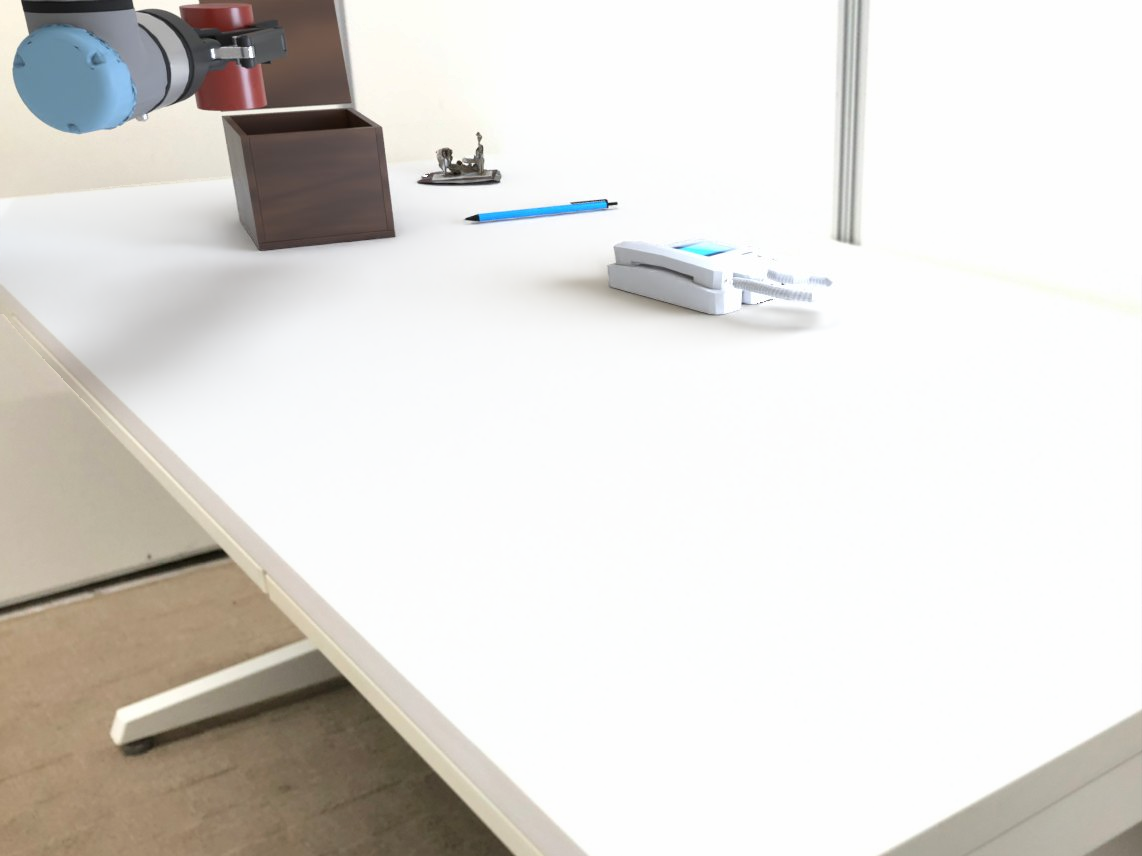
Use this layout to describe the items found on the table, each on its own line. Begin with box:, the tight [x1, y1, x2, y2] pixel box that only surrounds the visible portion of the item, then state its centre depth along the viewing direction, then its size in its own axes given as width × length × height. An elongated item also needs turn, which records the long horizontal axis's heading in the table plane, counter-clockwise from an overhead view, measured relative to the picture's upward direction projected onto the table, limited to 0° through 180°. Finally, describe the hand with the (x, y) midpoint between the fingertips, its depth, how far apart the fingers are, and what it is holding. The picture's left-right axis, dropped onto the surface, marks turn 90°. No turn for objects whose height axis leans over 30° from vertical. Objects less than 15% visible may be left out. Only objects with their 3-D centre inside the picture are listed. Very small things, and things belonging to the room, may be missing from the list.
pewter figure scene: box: [417, 131, 502, 184], centre depth 175 cm, size 12×6×11 cm
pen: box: [463, 198, 619, 222], centre depth 155 cm, size 1×19×1 cm, turn 117°
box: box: [221, 106, 396, 251], centre depth 147 cm, size 17×15×12 cm
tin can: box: [178, 3, 267, 112], centre depth 124 cm, size 6×6×9 cm
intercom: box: [606, 238, 841, 316], centre depth 122 cm, size 13×4×25 cm
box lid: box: [198, 0, 353, 113], centre depth 149 cm, size 17×15×1 cm
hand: (239, 34), depth 128 cm, fingers closed on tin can, 6 cm apart
